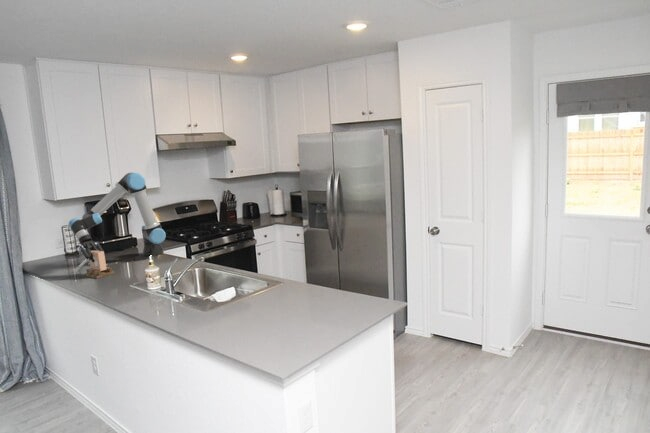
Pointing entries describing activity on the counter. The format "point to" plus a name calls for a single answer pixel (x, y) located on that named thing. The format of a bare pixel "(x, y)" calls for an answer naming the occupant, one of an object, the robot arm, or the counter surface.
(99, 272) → the rack
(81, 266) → the bracket
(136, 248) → the counter surface
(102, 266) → the salmon pink square block
